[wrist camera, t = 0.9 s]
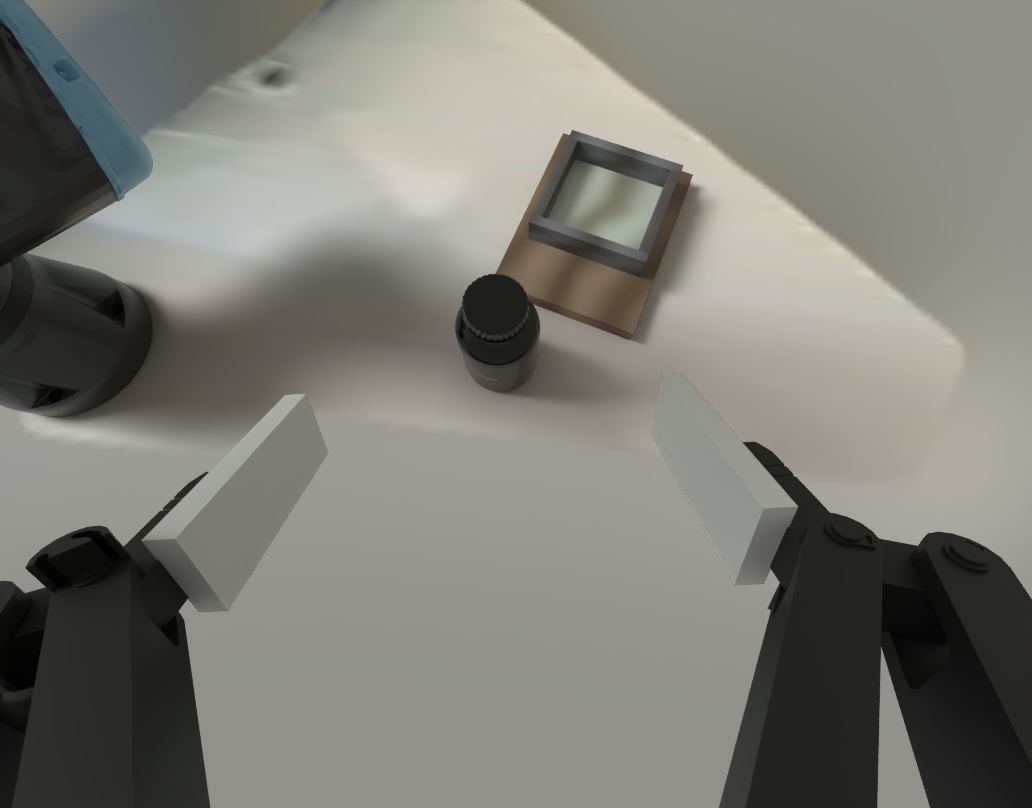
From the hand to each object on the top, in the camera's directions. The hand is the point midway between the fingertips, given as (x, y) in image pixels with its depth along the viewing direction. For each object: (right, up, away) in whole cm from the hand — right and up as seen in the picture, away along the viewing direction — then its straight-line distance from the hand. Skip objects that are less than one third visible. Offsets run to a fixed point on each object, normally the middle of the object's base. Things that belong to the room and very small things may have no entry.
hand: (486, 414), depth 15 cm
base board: (+9, +19, +27) cm, 35 cm away
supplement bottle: (0, +5, +24) cm, 25 cm away
